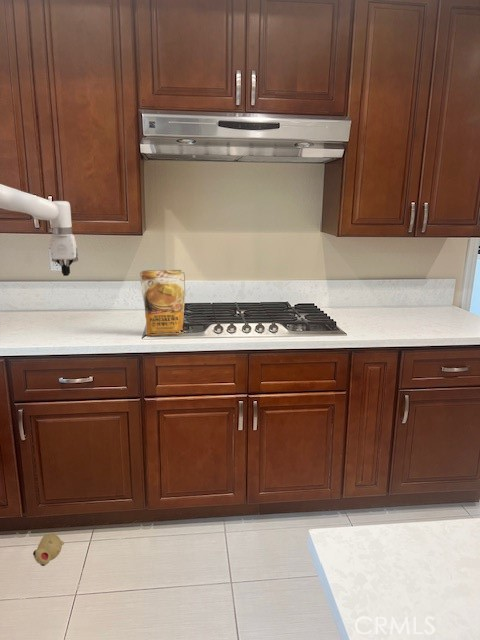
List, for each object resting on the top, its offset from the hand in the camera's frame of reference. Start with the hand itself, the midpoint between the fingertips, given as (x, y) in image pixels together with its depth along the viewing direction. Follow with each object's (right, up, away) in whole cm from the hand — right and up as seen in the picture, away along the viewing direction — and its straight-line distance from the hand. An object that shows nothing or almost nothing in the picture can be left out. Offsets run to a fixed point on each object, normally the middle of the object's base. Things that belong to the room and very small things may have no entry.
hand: (66, 275), depth 198 cm
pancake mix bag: (+41, -25, +6) cm, 48 cm away
